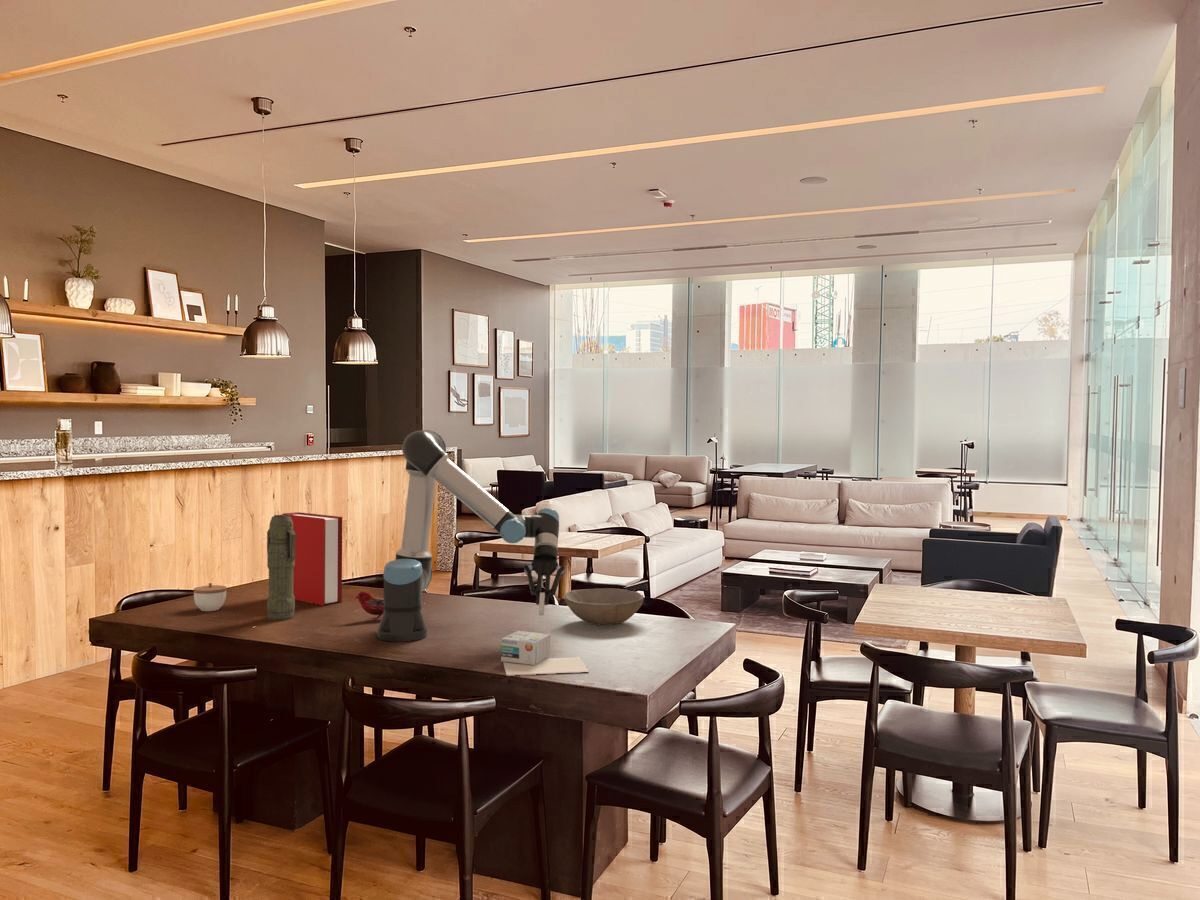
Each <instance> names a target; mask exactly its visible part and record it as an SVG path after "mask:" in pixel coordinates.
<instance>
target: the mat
mask: <svg viewBox="0 0 1200 900" xmlns="http://www.w3.org/2000/svg"><path fill="white" fill-rule="evenodd" d="M502 664H503V667H504V671H505V675H506V677H512V676H513V677H515V675H520V676H537V675H536V674H547V675H557V674H556V673H574V674H579V673H578V672H590V671H589V670H588V668H587V666H586V665H585V663H584V661H583V659H582V658H581V657H579V656H577V657H550V658H549V657H548V658H546V659H544V660H543V661H541V662H539V663H538V664H536V665H534V666H533V665H527V664H521V663H512V662H502Z"/></svg>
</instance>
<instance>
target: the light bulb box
mask: <svg viewBox="0 0 1200 900" xmlns="http://www.w3.org/2000/svg"><path fill="white" fill-rule="evenodd" d="M500 641H501V642H500V647H501V648H500V652H501V654H500V662H502V663H503V662H512V663H521V664H527V665H533V666H534V665H536V664H538V663H539V662H541V661H543V660H544V659H546V658H549V657H550V655H551V634H548V633H541V632H533V631H523V630H517V631H514V632H512V633H510V634H508V635H506V636H505V637H502V638H501V639H500Z"/></svg>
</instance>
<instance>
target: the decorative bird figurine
mask: <svg viewBox="0 0 1200 900" xmlns="http://www.w3.org/2000/svg"><path fill="white" fill-rule="evenodd" d="M354 599H357V600H358V602H359V603H360V605H361V608H362V610H363V611H364V612H365V613H368V614H370V615H372V616H376V617H371V618H367V620H372V619H376V620H379V619H378V618H381V619H382V616H383V613H384V598H380V597H376V596H374V595H372V594H371V593H370V592H368V591H365V590H361V591H359V593H358V595H357V596H355V598H354Z"/></svg>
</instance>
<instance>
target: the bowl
mask: <svg viewBox="0 0 1200 900" xmlns="http://www.w3.org/2000/svg"><path fill="white" fill-rule="evenodd" d="M564 599H565V603H566V605H567V606H568V607H569V610H570V611H571V612H572V614H573V615H575V616H576V617H577V618H579V619H580V620H582V621H584V622H586V623H589V624H591V625H595V626H605V627H606V625H607V626H614V625H619V624H622V623H624V622H627V621H628V620H629V619H630V618H632V616H634V615H635V614H636V613H637V612H638V611H639V609H640V608H641V607H642V605H643V603H644V599H645V598H644V595H643V594H641V593H640V592H638V591H631V590H628V589H621V588H613V587H603V588H602V587H601V588H599V587H598V588H586V589H573V590H570V591H567V592H565V594H564Z"/></svg>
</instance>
